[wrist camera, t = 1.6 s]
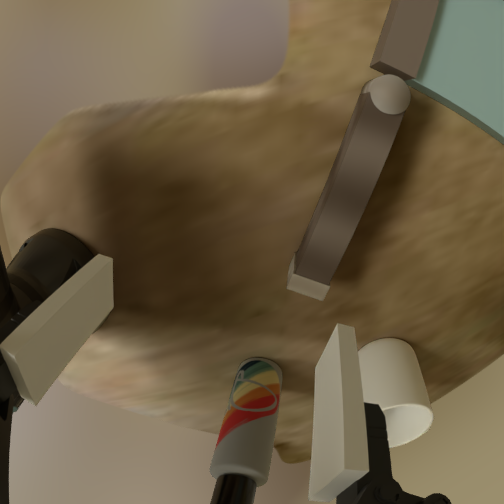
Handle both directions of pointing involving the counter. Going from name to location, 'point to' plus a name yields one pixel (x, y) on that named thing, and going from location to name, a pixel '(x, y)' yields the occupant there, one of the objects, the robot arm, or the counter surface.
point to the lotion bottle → (247, 433)
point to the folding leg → (349, 184)
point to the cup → (396, 388)
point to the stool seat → (449, 55)
